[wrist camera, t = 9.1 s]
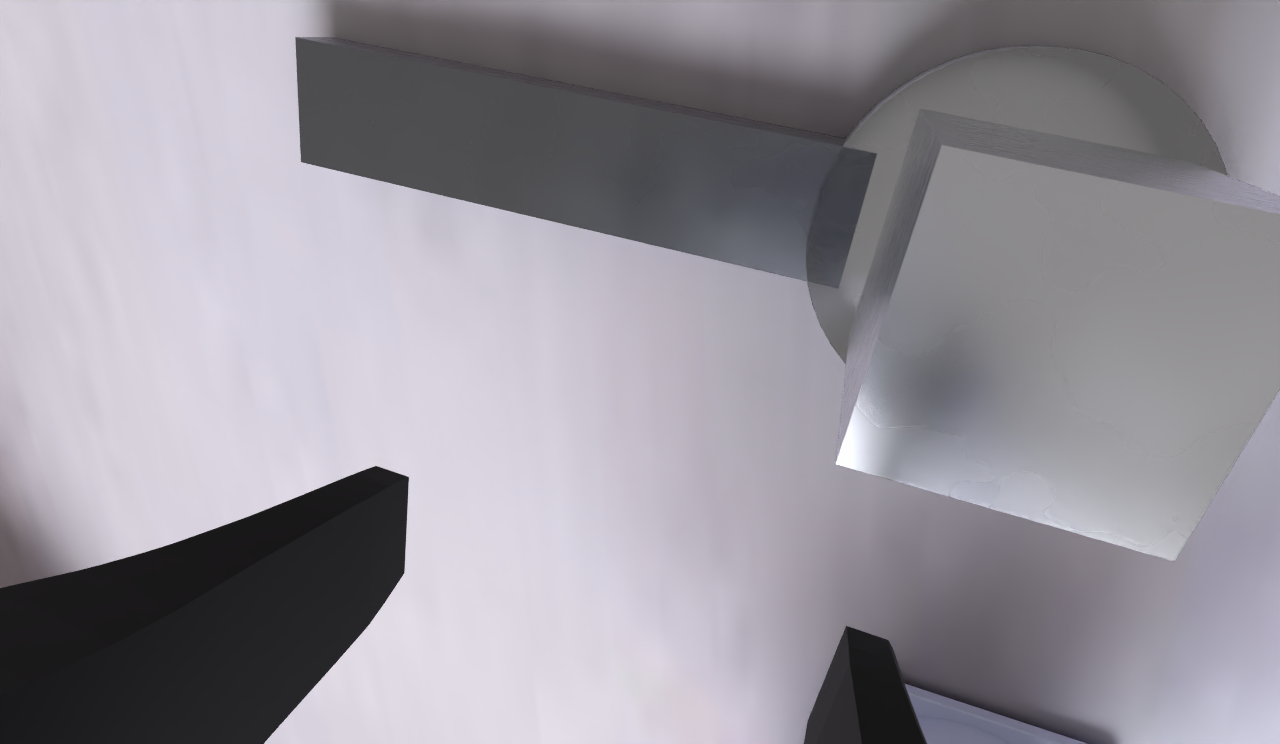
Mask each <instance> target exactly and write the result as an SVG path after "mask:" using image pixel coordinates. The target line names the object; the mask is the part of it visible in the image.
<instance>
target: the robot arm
mask: <svg viewBox="0 0 1280 744" xmlns="http://www.w3.org/2000/svg"><path fill="white" fill-rule="evenodd" d="M408 482H409V477H407V476H404V475H401V474H398V473H395V472H392V471H389V470H386V469H383V468H380V467H377V466H375V467H372V468H369V469H366V470H364V471H361V472H358V473H356V474H353V475H351V476H348V477H346V478H343V479H341V480H338V481H336V482H333V483H331V484H328V485H326V486H324V487H321V488H319V489H316V490H314V491H311V492H309V493H306V494H304V495H302V496H299V497H297V498H294V499H292V500H289V501H287V502H284V503H282V504H279V505H277V506H274V507H272V508H269V509H267V510H264V511H262V512H259V513H257V514H254V515H252V516H249V517H246V518H244V519H241V520H238V521H235V522H232V523H230V524H227V525H224V526H221V527H218V528H216V529H213V530H210V531H207V532H204V533H202V534H199V535H196V536H193V537H190V538H188V539H185V540H182V541H179V542H176V543H173V544H170V545H167V546H164V547H161V548H158V549H154V550H151V551H148V552H145V553H141V554H138V555H134V556H131V557H127V558H124V559H120V560H117V561H113V562H109V563H106V564H102V565H99V566H95V567H91V568H87V569H83V570H79V571H75V572H70V573H66V574H62V575H57V576H53V577H48V578H44V579H39V580H35V581H30V582H26V583H21V584H17V585H13V586H8V587H4V588H0V744H264V743H265V741H266V740H267V739H268V738H269V737H270V736H271V734H272V733H273V732H274V731H275V730H276V729H277V728H278V727H279V725H280V724H281V723H282V722H283V721H284V720H285V719H286V718H287V717H288V715H289V714H290V713H291V712H292V711H293V710H294V709H295V708H296V706H297V705H298V704H299V703H300V702H301V701H302V700H303V699H304V698H305V696H306V695H307V694H308V693H309V692H310V691H311V690H312V689H313V687H314V686H315V685H316V684H317V683H318V682H319V681H320V680H321V679H322V677H323V676H324V675H325V674H326V673H327V672H328V671H329V670H330V669H331V667H332V666H333V665H334V664H335V663H336V662H337V661H338V660H339V658H340V657H341V656H342V655H343V654H344V653H345V652H346V650H347V649H348V648H349V647H350V646H351V645H352V644H353V642H354V641H355V640H356V639H357V638H358V637H359V636H360V634H361V633H362V632H363V631H364V630H365V629H366V627H367V626H368V625H369V624H370V622H371V621H372V620H373V618H374V617H375V615H376V614H377V613H378V611H379V610H380V608H381V607H382V606H383V604H384V603H385V601H386V600H387V598H388V597H389V595H390V594H391V592H392V591H393V589H394V588H395V586H396V585H397V583H398V582H399V580H400V579H401V577H402V576H403V574H404V568H405V546H406V525H407V504H408ZM804 744H1087V743H1084V742H1081V741H1078V740H1075V739H1072V738H1069V737H1066V736H1063V735H1060V734H1056V733H1053V732H1050V731H1047V730H1044V729H1041V728H1038V727H1035V726H1032V725H1029V724H1026V723H1023V722H1020V721H1017V720H1014V719H1011V718H1008V717H1005V716H1002V715H999V714H996V713H993V712H990V711H987V710H983V709H980V708H977V707H974V706H971V705H968V704H965V703H962V702H959V701H956V700H953V699H950V698H947V697H944V696H941V695H938V694H935V693H932V692H929V691H926V690H923V689H920V688H917V687H914V686H911V685H907V684H905V683H904V680H903V678H902V675H901V672H900V669H899V666H898V663H897V660H896V657H895V653H894V650H893V648H892V646H891V644H890V643H889V641H888V640H886V639H883V638H880V637H877V636H874V635H871V634H868V633H865V632H862V631H860V630H857V629H854V628H851V627H848V626H846V628H845V631H844V633H843V635H842V638H841V640H840V643H839V645H838V648H837V650H836V653H835V655H834V658H833V660H832V663H831V665H830V668H829V670H828V673H827V675H826V677H825V680H824V682H823V685H822V687H821V690H820V692H819V695H818V697H817V700H816V702H815V705H814V707H813V710H812V712H811V715H810V717H809V719H808V723H807V729H806V735H805V741H804Z"/></svg>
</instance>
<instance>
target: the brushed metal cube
mask: <svg viewBox="0 0 1280 744" xmlns="http://www.w3.org/2000/svg"><path fill="white" fill-rule="evenodd" d="M1279 390H1280V196H1278V195H1275V194H1273V193H1270V192H1268V191H1265V190H1263V189H1260V188H1257V187H1255V186H1252V185H1250V184H1247V183H1245V182H1242V181H1239V180H1237V179H1234V178H1232V177H1229V176H1227V175H1224V174H1221V173H1219V172H1216V171H1214V170H1211V169H1209V168H1206V167H1203V166H1201V165H1198V164H1196V163H1193V162H1191V161H1186V160H1181V159H1176V158H1171V157H1166V156H1161V155H1155V154H1150V153H1145V152H1140V151H1135V150H1130V149H1125V148H1120V147H1115V146H1110V145H1104V144H1099V143H1094V142H1089V141H1084V140H1079V139H1074V138H1069V137H1064V136H1059V135H1054V134H1048V133H1043V132H1038V131H1033V130H1028V129H1023V128H1018V127H1013V126H1008V125H1003V124H998V123H992V122H987V121H982V120H977V119H972V118H967V117H962V116H957V115H952V114H947V113H942V112H936V111H931V110H926V109H921V108H920V109H919V113H918V116H917V119H916V122H915V125H914V128H913V132H912V135H911V138H910V141H909V144H908V148H907V151H906V154H905V157H904V160H903V164H902V167H901V170H900V173H899V176H898V180H897V183H896V186H895V189H894V192H893V196H892V199H891V202H890V205H889V208H888V212H887V215H886V218H885V221H884V224H883V228H882V231H881V234H880V237H879V240H878V244H877V247H876V250H875V253H874V256H873V260H872V263H871V266H870V269H869V272H868V276H867V279H866V282H865V285H864V288H863V292H862V295H861V298H860V301H859V304H858V308H857V311H856V314H855V317H854V320H853V324H852V327H851V330H850V333H849V340H848V350H847V360H846V369H845V379H844V389H843V398H842V408H841V418H840V428H839V437H838V447H837V457H836V464H837V465H841V466H844V467H848V468H851V469H855V470H858V471H862V472H865V473H869V474H872V475H875V476H879V477H882V478H886V479H889V480H893V481H896V482H900V483H903V484H907V485H910V486H914V487H917V488H921V489H924V490H927V491H931V492H934V493H938V494H941V495H945V496H948V497H952V498H955V499H959V500H962V501H966V502H969V503H973V504H976V505H980V506H983V507H986V508H990V509H993V510H997V511H1000V512H1004V513H1007V514H1011V515H1014V516H1018V517H1021V518H1025V519H1028V520H1032V521H1035V522H1038V523H1042V524H1045V525H1049V526H1052V527H1056V528H1059V529H1063V530H1066V531H1070V532H1073V533H1077V534H1080V535H1084V536H1087V537H1090V538H1094V539H1097V540H1101V541H1104V542H1108V543H1111V544H1115V545H1118V546H1122V547H1125V548H1129V549H1132V550H1136V551H1139V552H1142V553H1146V554H1149V555H1153V556H1156V557H1160V558H1163V559H1167V560H1170V561H1175V559H1176V558H1177V556H1178V555H1179V553H1180V551H1181V550H1182V548H1183V546H1184V545H1185V543H1186V542H1187V540H1188V538H1189V537H1190V535H1191V533H1192V532H1193V530H1194V529H1195V527H1196V525H1197V524H1198V522H1199V520H1200V519H1201V517H1202V516H1203V514H1204V512H1205V511H1206V509H1207V507H1208V506H1209V504H1210V502H1211V501H1212V499H1213V498H1214V496H1215V494H1216V493H1217V491H1218V489H1219V488H1220V486H1221V485H1222V483H1223V481H1224V480H1225V478H1226V476H1227V475H1228V473H1229V472H1230V470H1231V468H1232V467H1233V465H1234V463H1235V462H1236V460H1237V459H1238V457H1239V455H1240V454H1241V452H1242V450H1243V449H1244V447H1245V445H1246V444H1247V442H1248V441H1249V439H1250V437H1251V436H1252V434H1253V432H1254V431H1255V429H1256V428H1257V426H1258V424H1259V423H1260V421H1261V419H1262V418H1263V416H1264V415H1265V413H1266V411H1267V410H1268V408H1269V406H1270V405H1271V403H1272V402H1273V400H1274V398H1275V397H1276V395H1277V393H1278V392H1279Z"/></svg>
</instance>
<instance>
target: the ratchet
mask: <svg viewBox="0 0 1280 744" xmlns="http://www.w3.org/2000/svg"><path fill="white" fill-rule="evenodd" d="M296 59H297V81H298V103H299V125H300V147H301V162H303V163H307V164H312V165H316V166H320V167H324V168H329V169H333V170H337V171H341V172H346V173H350V174H354V175H358V176H362V177H367V178H371V179H375V180H379V181H384V182H388V183H392V184H396V185H401V186H405V187H409V188H413V189H418V190H422V191H426V192H430V193H435V194H439V195H443V196H447V197H452V198H456V199H460V200H464V201H469V202H473V203H477V204H481V205H486V206H490V207H494V208H498V209H503V210H507V211H511V212H515V213H519V214H524V215H528V216H532V217H536V218H541V219H545V220H549V221H553V222H558V223H562V224H566V225H570V226H575V227H579V228H583V229H587V230H592V231H596V232H600V233H604V234H609V235H613V236H617V237H621V238H626V239H630V240H634V241H638V242H643V243H647V244H651V245H655V246H660V247H664V248H668V249H672V250H676V251H681V252H685V253H689V254H693V255H698V256H702V257H706V258H710V259H715V260H719V261H723V262H727V263H732V264H736V265H740V266H744V267H749V268H753V269H757V270H761V271H766V272H770V273H774V274H778V275H783V276H787V277H791V278H795V279H800V280H804V281H807V282H808V287H809V291H810V296H811V300H812V305H813V307H814V310H815V312H816V315H817V318H818V320H819V323H820V325H821V327H822V329H823V331H824V333H825V335H826V336H827V338H828V340H829V342H830V344H831V345H832V347H833V348H834V349H835V351H836V352H837V353H838V355H839V356H840V357H841V359H842V360H843V361H844V363H845V364H846V360H847V350H848V340H849V333H850V330H851V327H852V324H853V320H854V317H855V314H856V311H857V308H858V304H859V301H860V298H861V295H862V292H863V288H864V285H865V282H866V279H867V276H868V272H869V269H870V266H871V263H872V260H873V256H874V253H875V250H876V247H877V244H878V240H879V237H880V234H881V231H882V228H883V224H884V221H885V218H886V215H887V212H888V208H889V205H890V202H891V199H892V196H893V192H894V189H895V186H896V183H897V180H898V176H899V173H900V170H901V167H902V164H903V160H904V157H905V154H906V151H907V148H908V144H909V141H910V138H911V135H912V132H913V128H914V125H915V122H916V119H917V116H918V113H919V109H920V108H921V109H926V110H931V111H936V112H942V113H947V114H952V115H957V116H962V117H967V118H972V119H977V120H982V121H987V122H992V123H998V124H1003V125H1008V126H1013V127H1018V128H1023V129H1028V130H1033V131H1038V132H1043V133H1048V134H1054V135H1059V136H1064V137H1069V138H1074V139H1079V140H1084V141H1089V142H1094V143H1099V144H1104V145H1110V146H1115V147H1120V148H1125V149H1130V150H1135V151H1140V152H1145V153H1150V154H1155V155H1161V156H1166V157H1171V158H1176V159H1181V160H1186V161H1191V162H1193V163H1196V164H1198V165H1201V166H1203V167H1206V168H1209V169H1211V170H1214V171H1216V172H1219V173H1221V174H1224V175H1227V173H1226V169H1225V166H1224V164H1223V161H1222V158H1221V156H1220V153H1219V151H1218V148H1217V146H1216V144H1215V142H1214V140H1213V139H1212V137H1211V135H1210V134H1209V132H1208V130H1207V129H1206V127H1205V125H1204V124H1203V122H1202V121H1201V119H1200V118H1199V117H1198V116H1197V115H1196V114H1195V113H1194V111H1193V110H1192V109H1191V108H1190V107H1189V106H1188V105H1187V103H1186V102H1185V101H1184V100H1183V99H1182V98H1181V97H1179V96H1178V95H1177V94H1176V93H1175V92H1173V91H1172V90H1171V89H1170V88H1169V87H1167V86H1166V85H1165V84H1164V83H1162V82H1161V81H1159V80H1158V79H1156V78H1154V77H1153V76H1151V75H1149V74H1147V73H1146V72H1144V71H1142V70H1141V69H1139V68H1137V67H1135V66H1133V65H1130V64H1127V63H1125V62H1122V61H1120V60H1117V59H1115V58H1112V57H1110V56H1106V55H1102V54H1098V53H1094V52H1089V51H1085V50H1081V49H1072V48H1062V47H1052V46H1017V47H1003V48H997V49H991V50H985V51H979V52H976V53H972V54H969V55H965V56H962V57H959V58H955V59H952V60H950V61H947V62H945V63H943V64H940V65H938V66H936V67H933V68H931V69H929V70H927V71H925V72H923V73H921V74H920V75H918V76H916V77H914V78H913V79H911V80H909V81H907V82H906V83H904V84H903V85H901V86H900V87H898V88H897V89H896V90H894V91H893V92H892V93H890V94H889V95H888V96H886V97H885V98H884V99H882V100H881V101H880V102H879V103H878V104H877V105H876V106H875V107H874V108H873V109H872V110H871V111H870V112H869V113H868V114H867V115H865V116H864V117H863V118H862V120H861V121H860V122H859V123H858V124H857V126H856V127H855V128H854V129H853V131H852V132H851V133H850V134H849V135H848V137H847V138H846V139H845V138H840V137H835V136H829V135H824V134H819V133H814V132H809V131H804V130H799V129H794V128H789V127H784V126H779V125H774V124H769V123H764V122H759V121H754V120H748V119H743V118H738V117H733V116H728V115H723V114H718V113H713V112H708V111H703V110H698V109H693V108H688V107H683V106H678V105H673V104H667V103H662V102H657V101H652V100H647V99H642V98H637V97H632V96H627V95H622V94H617V93H612V92H607V91H602V90H597V89H591V88H586V87H581V86H576V85H571V84H566V83H561V82H556V81H551V80H546V79H541V78H536V77H531V76H526V75H521V74H516V73H510V72H505V71H500V70H495V69H490V68H485V67H480V66H475V65H470V64H465V63H460V62H455V61H450V60H445V59H440V58H435V57H429V56H424V55H419V54H414V53H409V52H404V51H399V50H394V49H389V48H384V47H379V46H374V45H369V44H364V43H359V42H354V41H348V40H343V39H338V38H324V37H296Z"/></svg>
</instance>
